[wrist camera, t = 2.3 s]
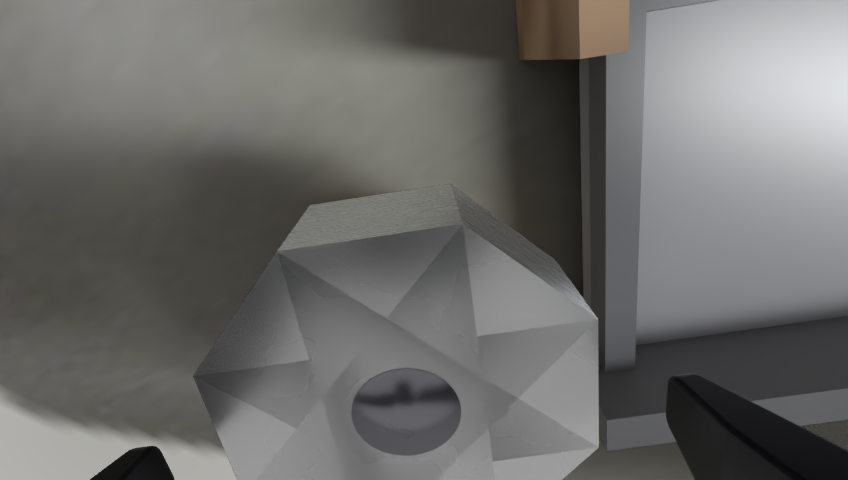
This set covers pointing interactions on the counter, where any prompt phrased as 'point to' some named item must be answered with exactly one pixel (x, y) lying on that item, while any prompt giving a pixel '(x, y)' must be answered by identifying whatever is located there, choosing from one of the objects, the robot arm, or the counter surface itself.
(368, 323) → the octagonal prism
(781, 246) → the tray
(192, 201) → the counter surface
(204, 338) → the counter surface
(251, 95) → the counter surface
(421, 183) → the counter surface
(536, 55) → the block
